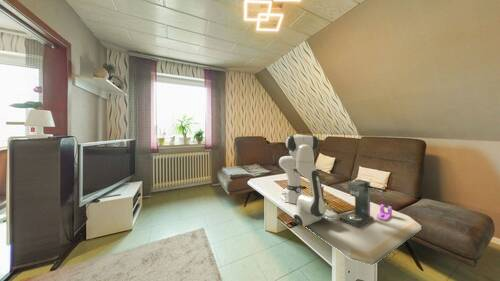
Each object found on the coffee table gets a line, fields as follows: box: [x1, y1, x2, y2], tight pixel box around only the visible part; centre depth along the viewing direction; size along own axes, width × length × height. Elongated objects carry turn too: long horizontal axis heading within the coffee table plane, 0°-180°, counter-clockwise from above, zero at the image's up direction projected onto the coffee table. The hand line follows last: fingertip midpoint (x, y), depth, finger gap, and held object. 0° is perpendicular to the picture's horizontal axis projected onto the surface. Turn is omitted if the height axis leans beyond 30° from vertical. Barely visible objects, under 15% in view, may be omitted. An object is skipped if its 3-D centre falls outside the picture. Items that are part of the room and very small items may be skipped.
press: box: [339, 178, 387, 229], centre depth 109 cm, size 18×20×25 cm
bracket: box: [376, 203, 393, 222], centre depth 116 cm, size 13×6×7 cm, turn 127°
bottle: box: [325, 201, 333, 210], centre depth 118 cm, size 5×5×10 cm
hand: (328, 208), depth 118 cm, fingers closed on bottle, 5 cm apart
